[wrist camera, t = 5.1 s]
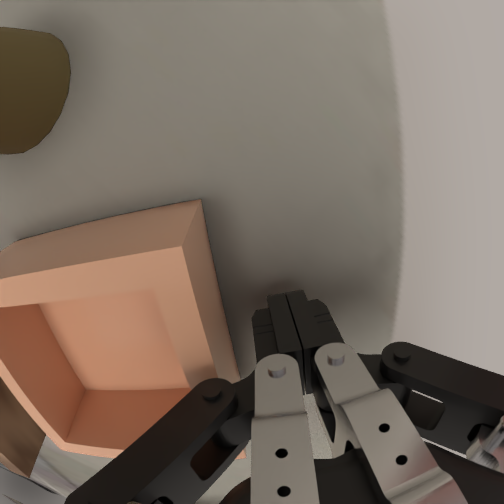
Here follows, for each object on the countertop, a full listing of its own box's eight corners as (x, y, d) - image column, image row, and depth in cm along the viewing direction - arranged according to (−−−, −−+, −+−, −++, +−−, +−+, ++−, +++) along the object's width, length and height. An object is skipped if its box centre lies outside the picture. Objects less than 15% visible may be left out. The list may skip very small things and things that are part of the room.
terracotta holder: (14, 241, 11) (-48, 288, 7) (200, 199, 12) (182, 246, 7) (85, 388, 15) (61, 449, 11) (241, 381, 15) (246, 458, 11)
